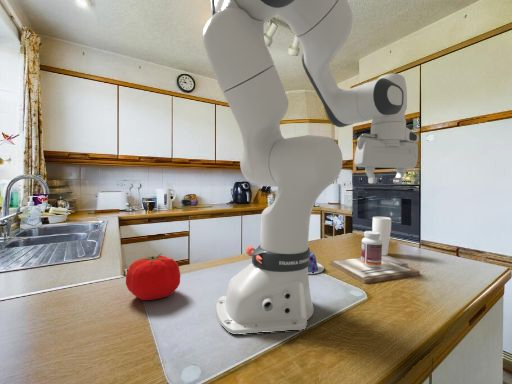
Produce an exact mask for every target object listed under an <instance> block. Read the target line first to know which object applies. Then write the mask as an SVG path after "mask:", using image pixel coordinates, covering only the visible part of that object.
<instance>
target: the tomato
mask: <svg viewBox="0 0 512 384" xmlns="http://www.w3.org/2000/svg"><path fill="white" fill-rule="evenodd" d="M162 254H163V253H162V252H161V253H160V254H158V255H156V256H154V255H151V256H147V257H141V258H139V259H136V260H135V261H133V262H132V263H131V264H130V265H129V267H128V269H127V272H126V275H125V285H126V288H127V290H128V291H129V292H130V293H131V294H132V295H134V296H135V297H136V298H138V299H141V300H142V301H148V300H149V301H150V300H157V299H159V300H160V299H163V298H166V297H169V296H170V295H171V294H173V293H174V292H175V291H176V290H177V289H178V287H179V286H180V283H181V271H180V266H179V264H178V263H177V262H176V261H175V259H174V258H170V257H167V256H165V255H162Z"/></svg>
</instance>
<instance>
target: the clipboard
mask: <svg viewBox="0 0 512 384" xmlns="http://www.w3.org/2000/svg"><path fill="white" fill-rule="evenodd" d="M329 264H330V266H331V265H332V266H333V267H334V268H336V269H338V270H339V271H341V272H343V273H345V274H347V275H349V276H350V277H352V278H354V279H355V280H358V281H359V282H361V283H363V284H371V283H372V284H373V283H376V282H385V281H389V280H396V279H401V278H409V277H415V276H420V272H421V271H419V270H418V269H414V268H413V267H410V266H409V263H408V262H405V261H403V260H401V259H398V258H395V257H393V256H390V255H386V256H382V259H381V266H380V267H377V268H374V267H368V266H365V265H363V264H362V263H361V257H354V258H346V259H336V260H330V263H329Z"/></svg>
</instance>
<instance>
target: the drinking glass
mask: <svg viewBox="0 0 512 384" xmlns="http://www.w3.org/2000/svg"><path fill="white" fill-rule="evenodd" d="M371 223H372V224H371V225H372V226H371V227H372V228H371V231H374V232H378V233H380V237H379V239H380V240H381V241H382V256H388V254H389V247H390V246H389V244H390V238H391V231H392V218H391V217H387V216H372V222H371Z"/></svg>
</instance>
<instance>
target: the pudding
mask: <svg viewBox="0 0 512 384" xmlns="http://www.w3.org/2000/svg"><path fill="white" fill-rule="evenodd" d="M324 270H325V267H324V266H323V265H322V264H320V263H319V262H317V258H316V255H315V254H314V252H311V251H310V266H309V270H308V275H309V274H310V275H311V274H319V273H321V272H323V271H324ZM312 272H314V273H312Z"/></svg>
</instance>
